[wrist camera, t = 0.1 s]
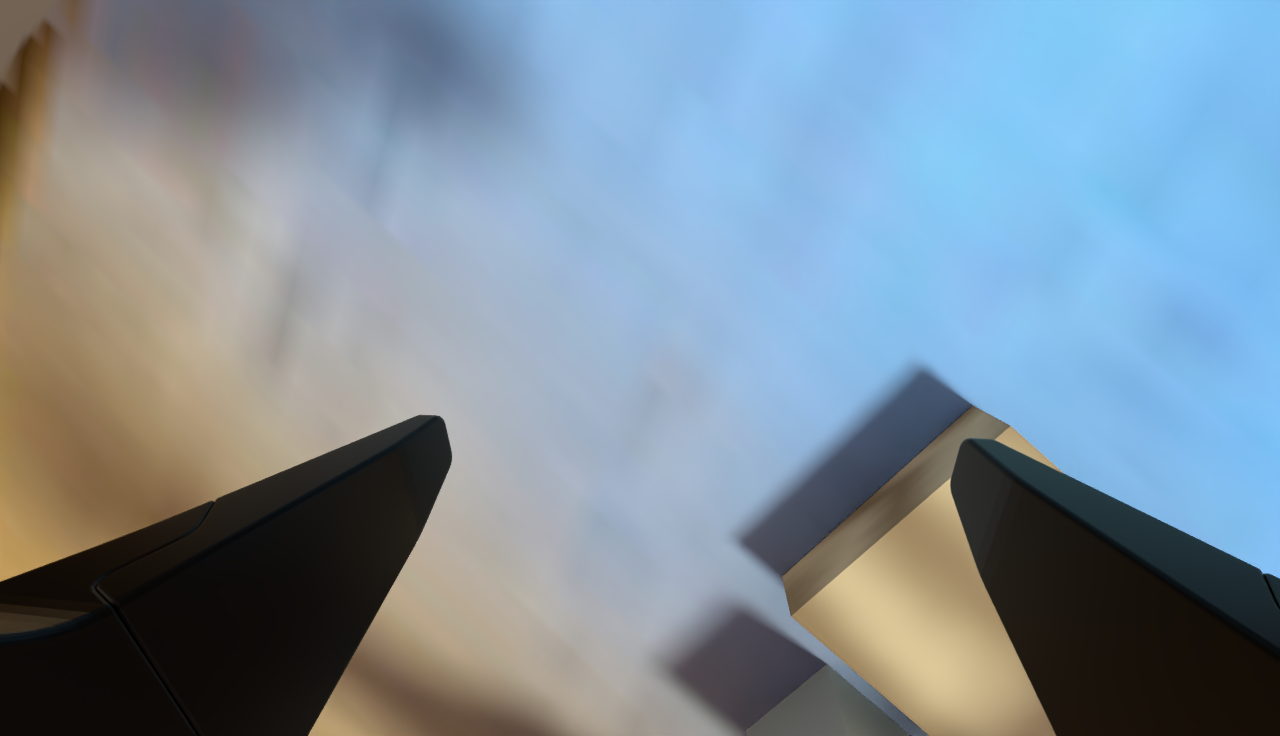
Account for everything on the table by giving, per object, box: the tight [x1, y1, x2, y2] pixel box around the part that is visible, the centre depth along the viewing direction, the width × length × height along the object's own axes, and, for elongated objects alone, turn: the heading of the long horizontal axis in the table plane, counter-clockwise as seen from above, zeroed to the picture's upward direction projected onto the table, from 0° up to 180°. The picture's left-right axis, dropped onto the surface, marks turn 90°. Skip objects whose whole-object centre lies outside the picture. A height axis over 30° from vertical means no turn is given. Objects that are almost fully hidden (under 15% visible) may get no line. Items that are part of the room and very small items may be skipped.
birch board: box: [782, 406, 1063, 736], centre depth 23 cm, size 12×12×3 cm
